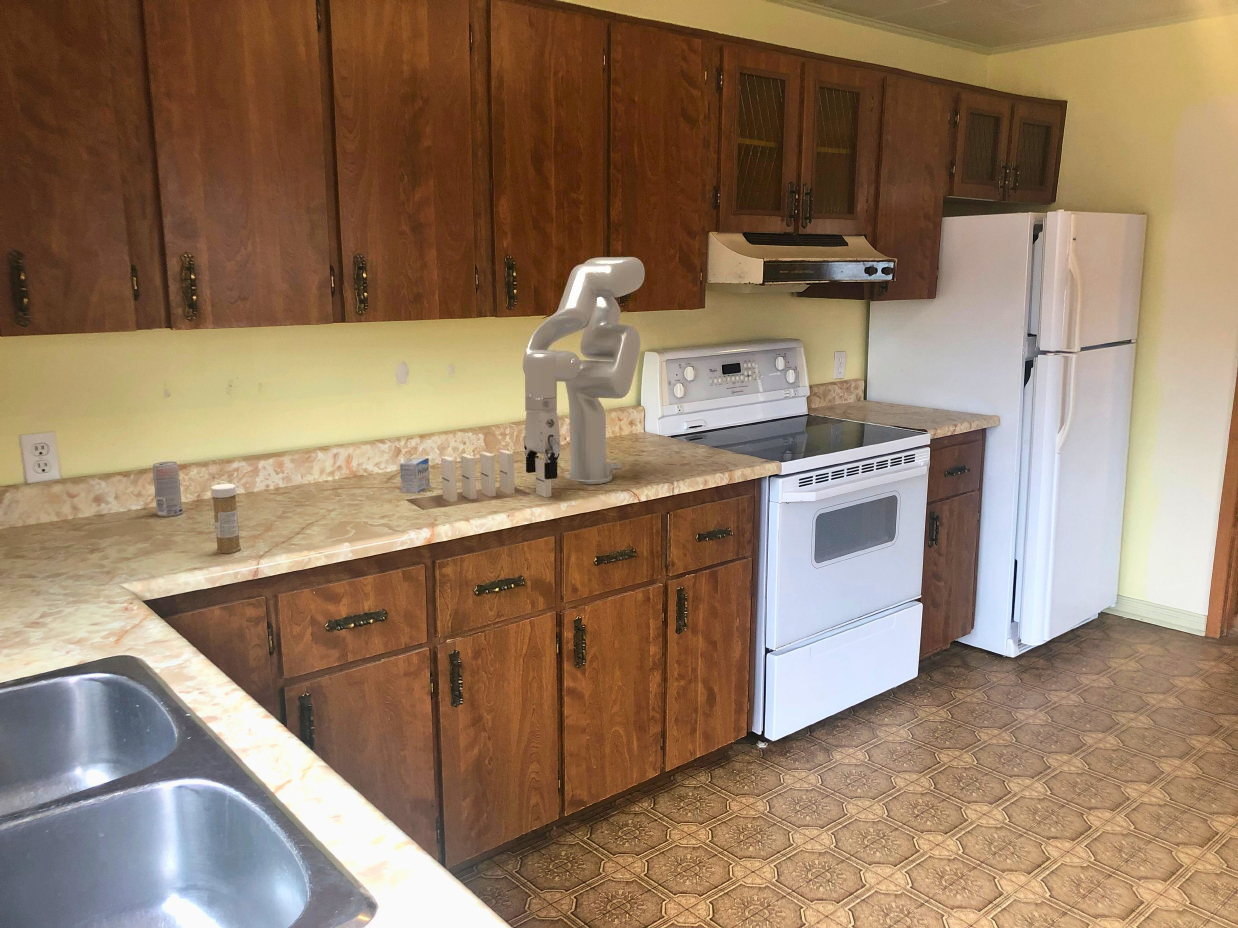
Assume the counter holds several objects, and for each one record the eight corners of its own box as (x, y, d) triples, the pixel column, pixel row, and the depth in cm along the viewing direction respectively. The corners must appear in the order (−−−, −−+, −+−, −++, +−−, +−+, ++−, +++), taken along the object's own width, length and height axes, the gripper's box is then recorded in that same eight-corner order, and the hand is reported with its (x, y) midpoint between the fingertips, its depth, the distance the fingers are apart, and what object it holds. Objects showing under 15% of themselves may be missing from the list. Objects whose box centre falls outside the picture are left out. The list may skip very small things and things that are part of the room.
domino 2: (468, 494, 235) (467, 454, 233) (477, 498, 231) (475, 457, 229) (461, 495, 234) (460, 454, 232) (470, 499, 230) (468, 458, 228)
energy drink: (177, 510, 227) (172, 460, 224) (186, 514, 223) (181, 463, 221) (153, 514, 223) (148, 463, 221) (162, 518, 219) (157, 467, 217)
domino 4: (506, 489, 240) (504, 449, 238) (514, 493, 236) (513, 452, 234) (499, 490, 239) (498, 450, 237) (508, 493, 235) (506, 453, 233)
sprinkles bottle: (218, 548, 195) (212, 483, 192) (242, 546, 196) (236, 482, 194) (215, 555, 191) (209, 488, 188) (239, 553, 192) (234, 487, 189)
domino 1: (449, 497, 233) (447, 456, 231) (457, 501, 228) (455, 459, 226) (442, 497, 232) (440, 457, 230) (450, 502, 227) (448, 460, 225)
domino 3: (487, 491, 238) (486, 451, 236) (496, 495, 234) (494, 455, 232) (480, 492, 237) (479, 452, 235) (489, 496, 233) (487, 455, 231)
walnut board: (511, 489, 245) (511, 485, 245) (532, 498, 235) (532, 494, 235) (405, 504, 231) (405, 499, 230) (423, 514, 221) (422, 509, 220)
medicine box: (418, 498, 237) (416, 463, 235) (401, 497, 238) (399, 463, 236) (430, 491, 245) (429, 457, 243) (414, 490, 245) (412, 457, 244)
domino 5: (542, 497, 237) (541, 457, 235) (552, 501, 233) (551, 460, 231) (535, 498, 236) (534, 458, 234) (545, 502, 232) (544, 461, 230)
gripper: (572, 407, 224) (572, 479, 227) (538, 400, 239) (539, 468, 242) (543, 409, 220) (544, 482, 223) (511, 402, 235) (511, 471, 238)
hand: (541, 475), depth 232 cm, fingers open, 9 cm apart
